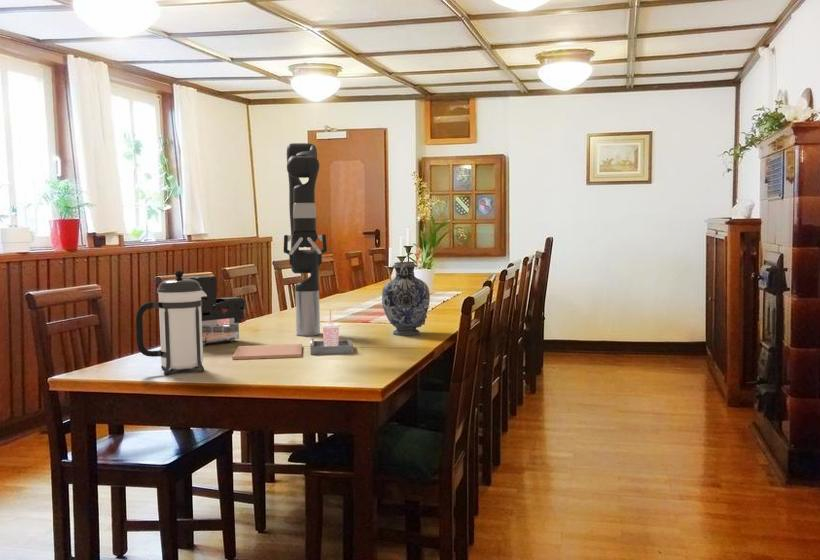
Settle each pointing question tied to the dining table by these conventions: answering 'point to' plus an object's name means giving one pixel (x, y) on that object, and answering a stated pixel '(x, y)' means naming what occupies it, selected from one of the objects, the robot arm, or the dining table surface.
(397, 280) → the decorative vase
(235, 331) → the bill acceptor
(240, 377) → the dining table surface
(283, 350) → the terracotta tile
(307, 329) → the robot arm
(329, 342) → the beverage cup
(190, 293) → the coffee press
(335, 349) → the square metal frame
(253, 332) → the dining table surface
